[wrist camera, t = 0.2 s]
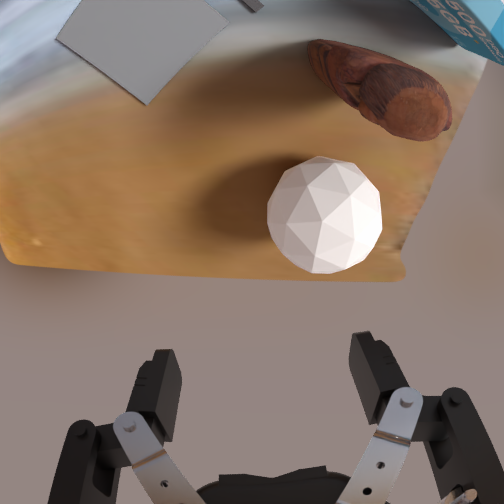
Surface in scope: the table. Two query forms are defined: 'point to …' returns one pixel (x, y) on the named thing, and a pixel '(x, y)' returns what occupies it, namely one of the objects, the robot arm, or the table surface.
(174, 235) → the table surface
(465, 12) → the data package
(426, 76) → the wooden figurine
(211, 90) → the table surface
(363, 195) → the geometric sphere
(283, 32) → the table surface
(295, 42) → the table surface
